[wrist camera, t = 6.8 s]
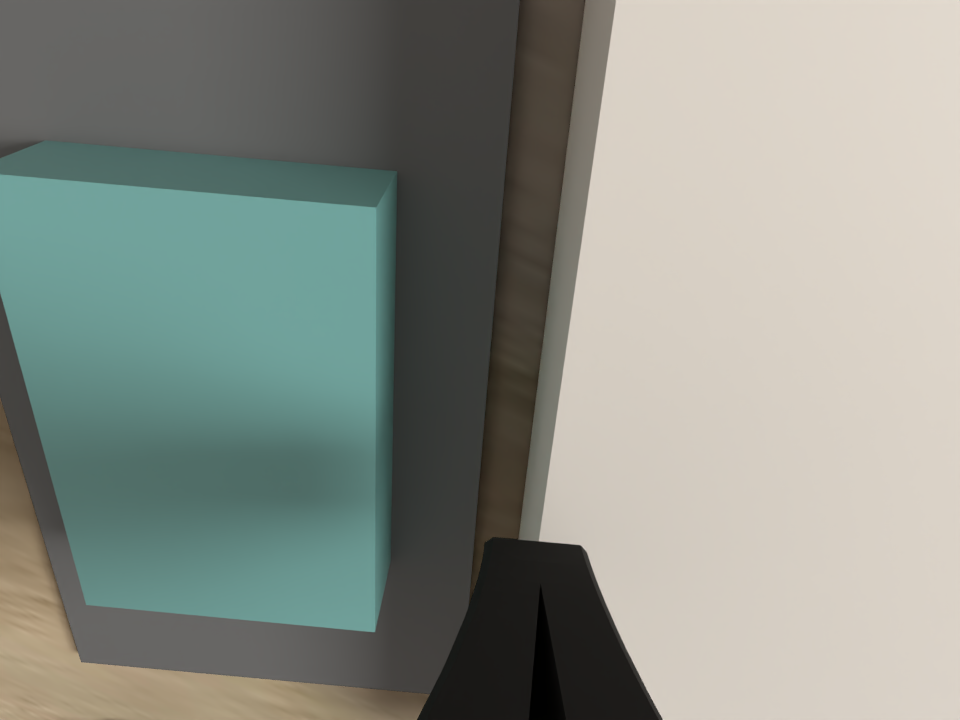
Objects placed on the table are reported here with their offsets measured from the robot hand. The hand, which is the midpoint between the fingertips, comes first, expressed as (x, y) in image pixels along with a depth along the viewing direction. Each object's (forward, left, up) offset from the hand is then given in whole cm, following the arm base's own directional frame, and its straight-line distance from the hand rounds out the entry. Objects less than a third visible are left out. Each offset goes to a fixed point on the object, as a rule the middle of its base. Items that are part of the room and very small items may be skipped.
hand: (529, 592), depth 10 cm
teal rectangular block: (0, +6, -3) cm, 6 cm away
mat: (0, +6, -5) cm, 8 cm away
